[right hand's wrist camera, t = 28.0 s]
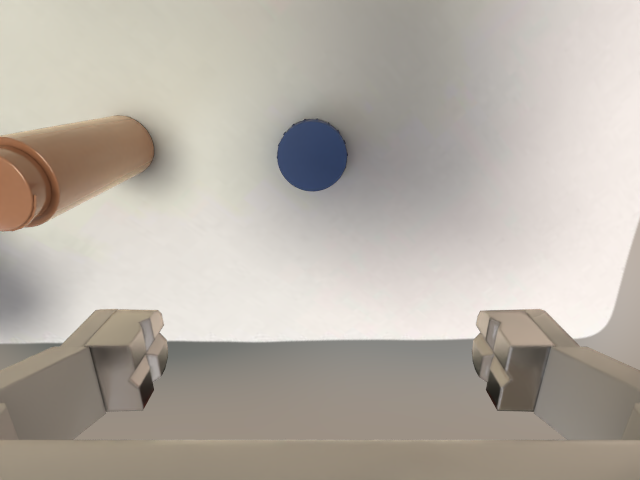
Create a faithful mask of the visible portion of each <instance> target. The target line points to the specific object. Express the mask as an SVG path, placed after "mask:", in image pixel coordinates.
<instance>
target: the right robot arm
mask: <svg viewBox="0 0 640 480" xmlns="http://www.w3.org/2000/svg"><path fill="white" fill-rule="evenodd" d="M163 326H164V323H163V318H162V314H161V313H160V312H159V311H158V310H129V309H120V310H118V309H100V310H95V311H94V312H93V314H92V315H91V316H90V317H89V318H88V319H87V320H86V321H85V322H84V323H83V324H82V325H81V326H80V327H79V328H78V329H77V330H76V331H75V332H74V333H73V334H72V335H71V336H70V337H69V338H68V339H67V340H66V341H65V342H64V343H63V344H62V345H61V346H60V347H51V348H49V349H47V350H45V351H43V352H40V353H38V354H36V355H33V356H31V357H29V358H27V359H25V360H22V361H20V362H18V363H16V364H13V365H11V366H9V367H7V368H5V369H2V370H0V480H640V370H638V369H635V368H633V367H631V366H629V365H626V364H624V363H622V362H620V361H618V360H615V359H613V358H611V357H609V356H606V355H604V354H602V353H600V352H598V351H595V350H593V349H591V348H589V347H580V346H579V345H578V344H577V343H576V342H575V341H574V340H573V339H572V338H571V337H570V336H569V335H568V334H567V333H566V332H565V331H564V330H563V329H562V328H561V327H560V326H559V325H558V324H557V322H556V321H555V320H554V319H553V318H552V317H551V316H550V315H549V314H548V313H547V312H546V311H544V310H541V309H524V310H488V311H480V312H479V315H478V317H477V322H476V326H477V327H478V329H479V331H480V332H481V333H480V334H479V335H478V336H477V337H476V338H475V339H474V340H473V347H472V357H473V364H474V367H475V370H476V372H477V374H478V376H479V377H480V378H482V379H483V380H484V381H486V382H487V387H486V391H487V393H488V394H489V396H490V398H491V400H492V402H493V404H494V405H495V407H496V409H497V410H498V411H530V412H534V414H535V415H537V416H538V417H539V418H540V419H542V420H543V421H544V422H545V423H547V424H548V425H549V426H551V427H552V428H553V429H554V430H556V431H557V432H558V433H559V434H561V435H562V436H563V437H564V438H566V439H567V440H73V439H74V438H76V437H77V436H78V435H79V434H81V433H82V432H83V431H85V430H86V429H87V428H88V427H90V426H91V425H92V424H93V423H95V422H96V421H97V420H98V419H100V418H101V417H102V416H104V415H105V414H106V412H110V411H142V410H143V409H144V407H145V406H146V404H147V402H148V400H149V398H150V396H151V394H152V393H153V391H154V387H153V382H154V381H156V380H157V379H159V378H160V377H161V376H162V374H163V372H164V370H165V367H166V363H167V358H168V346H167V340H166V339H165V338H164V337H163V336H162V335H161V334H160V333H159V332H160V331H161V329H162V327H163Z"/></svg>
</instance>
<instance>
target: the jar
mask: <svg viewBox="0 0 640 480" xmlns="http://www.w3.org/2000/svg"><path fill="white" fill-rule="evenodd" d="M153 155H154V146H153V141H152V139H151V136H150V135H149V133H148V131H147V130H146V129H145V128H144V127H143V126H142V125H141V124H140V123H139V122H138V121H136V120H134V119H132V118H130V117H127V116H120V115H117V116H110V117H104V118H98V119H93V120H87V121H81V122H75V123H70V124H64V125H58V126H52V127H47V128H41V129H35V130H30V131H24V132H18V133H12V134H7V135H1V136H0V231H15V230H18V229H22V228H24V227H34V226H38V225H41V224H43V223H45V222H47V221H49V220H51V219H53V218H55V217H56V216H58V215H60V214H62V213H64V212H66V211H68V210H70V209H72V208H74V207H76V206H78V205H80V204H82V203H83V202H85V201H87V200H89V199H91V198H93V197H95V196H97V195H99V194H101V193H103V192H105V191H107V190H109V189H110V188H112V187H114V186H116V185H118V184H120V183H122V182H124V181H126V180H128V179H130V178H132V177H134V176H136V175H137V174H139V173H141V172H143V171H144V170H146V169H147V168H148V167H149V165H150V164H151V162H152V159H153Z"/></svg>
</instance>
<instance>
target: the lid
mask: <svg viewBox="0 0 640 480" xmlns="http://www.w3.org/2000/svg"><path fill="white" fill-rule="evenodd" d="M283 135H284V136H283V138H282V139H281V142H280V143H279V145H278V146H279V147H278V152H277V159H278V165H279V168H280V171H281V173H282V174H283V176H284V177H285V179H286V180H287V181H288V182H289V183H291V184H292V185H293V186H295V187H297V188H299V189H302V190H305V191H319V190H323V189H326V188H328V187H330V186H331V185H333V184H334V183H335V182H336V181H337V180H338V179H339V178H340V177H341V175H342V173H343V172H344V169H345V168H346V162H347V156H348V154H347V151H346V147H345V144H346V143H345V141H344V140H343V139H342V137H341V135H340V133H339V131H338V130H336V129H335V128H334V127H333V126H332V125H330V124H329V122H328V123H326V122H324V121H321V120H318V119H308V120H306V119H304V120H303V121H300V122H298V123H296V124H293V125H292V127H291V128H289V129H288V131H287V132H285V133H284V134H283Z"/></svg>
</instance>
